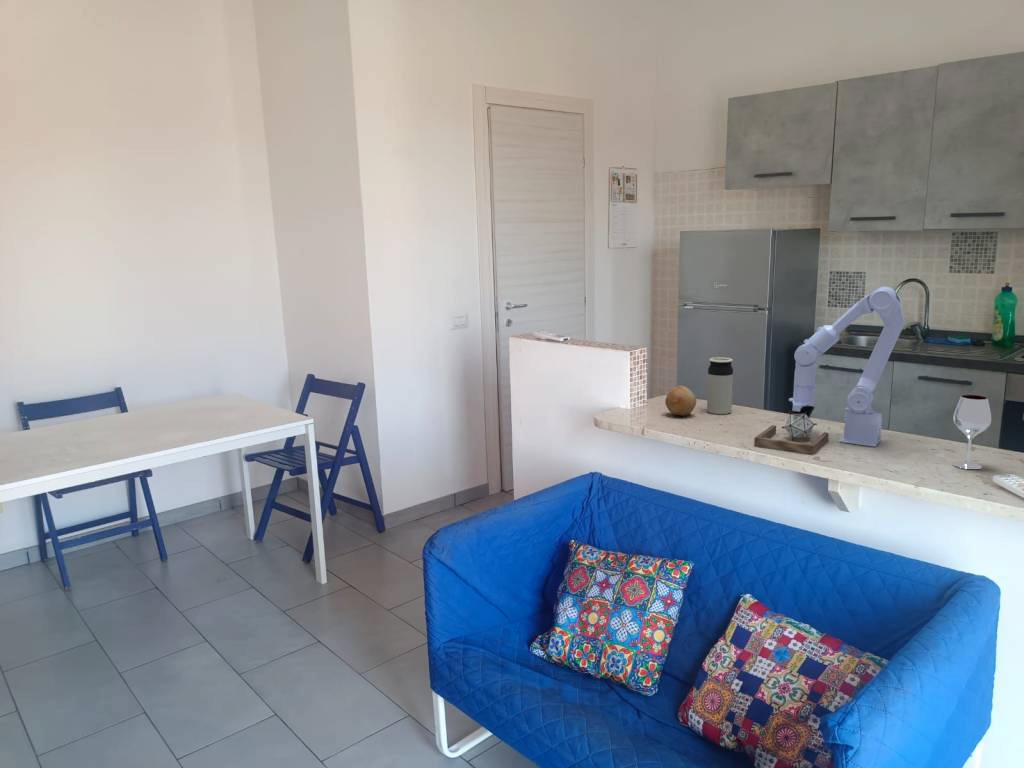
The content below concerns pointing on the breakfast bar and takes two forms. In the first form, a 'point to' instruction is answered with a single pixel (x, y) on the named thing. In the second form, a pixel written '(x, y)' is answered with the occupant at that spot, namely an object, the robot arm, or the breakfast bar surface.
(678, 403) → the onion
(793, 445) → the u-shaped wooden tray
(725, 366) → the travel mug
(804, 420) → the game die
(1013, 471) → the breakfast bar surface
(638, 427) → the breakfast bar surface
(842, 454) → the breakfast bar surface
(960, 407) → the wineglass
